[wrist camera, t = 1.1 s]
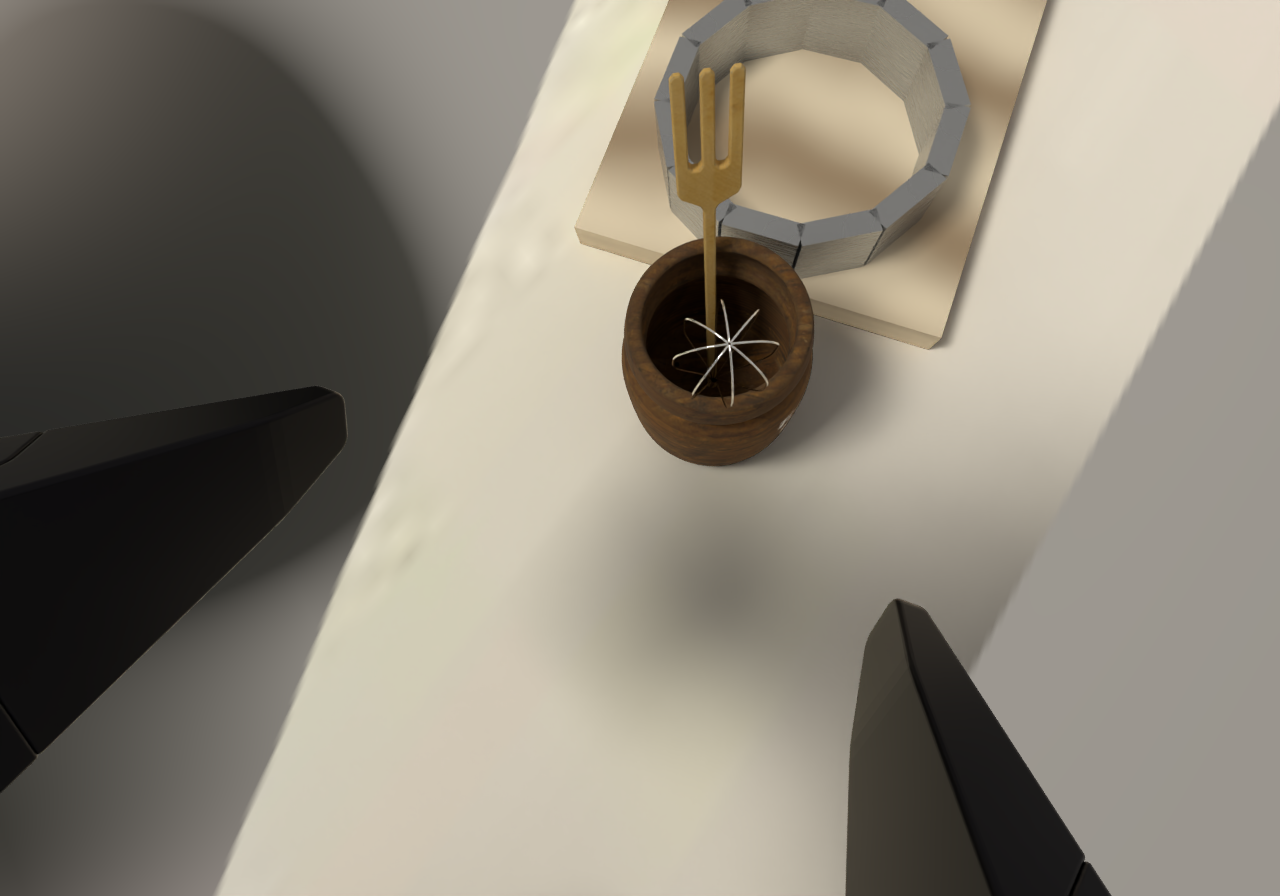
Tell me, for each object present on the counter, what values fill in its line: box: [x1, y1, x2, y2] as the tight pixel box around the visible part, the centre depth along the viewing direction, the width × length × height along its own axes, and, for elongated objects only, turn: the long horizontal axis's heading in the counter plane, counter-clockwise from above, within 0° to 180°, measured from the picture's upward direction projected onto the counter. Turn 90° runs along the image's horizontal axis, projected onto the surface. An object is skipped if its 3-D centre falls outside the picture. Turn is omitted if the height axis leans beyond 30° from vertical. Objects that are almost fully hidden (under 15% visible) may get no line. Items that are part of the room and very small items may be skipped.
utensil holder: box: [622, 63, 814, 466], centre depth 17 cm, size 6×6×12 cm
